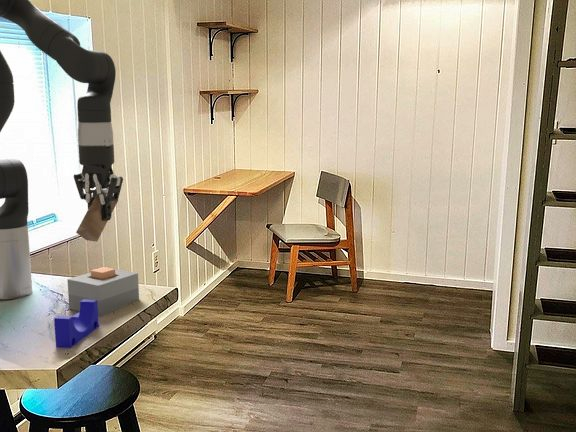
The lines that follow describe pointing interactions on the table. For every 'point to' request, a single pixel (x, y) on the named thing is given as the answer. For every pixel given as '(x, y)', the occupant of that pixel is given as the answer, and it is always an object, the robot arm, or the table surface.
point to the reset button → (103, 273)
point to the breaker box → (104, 291)
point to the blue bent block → (76, 324)
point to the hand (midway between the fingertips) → (100, 219)
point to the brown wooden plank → (93, 221)
